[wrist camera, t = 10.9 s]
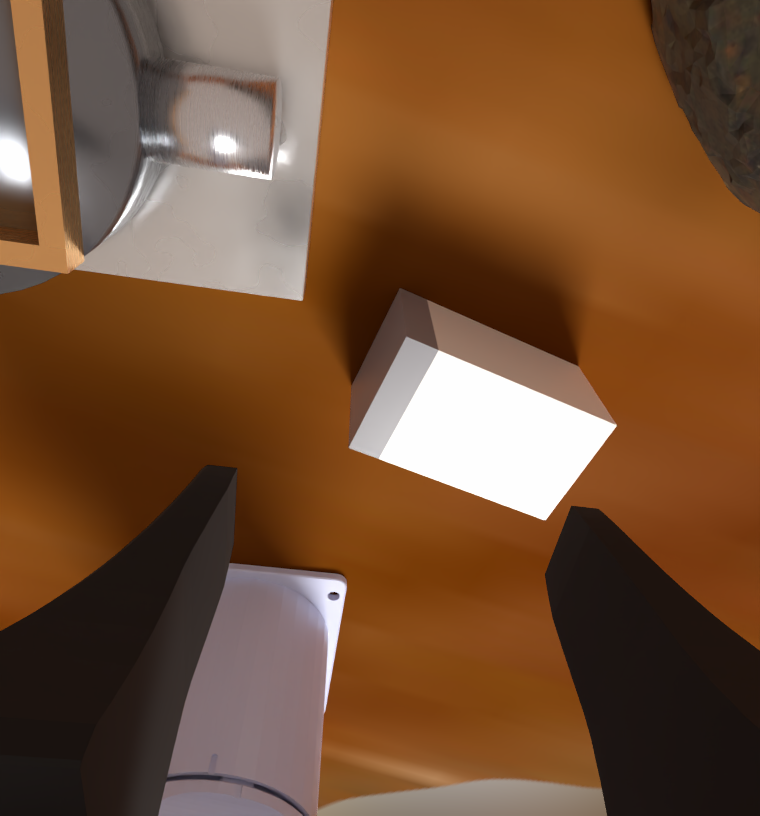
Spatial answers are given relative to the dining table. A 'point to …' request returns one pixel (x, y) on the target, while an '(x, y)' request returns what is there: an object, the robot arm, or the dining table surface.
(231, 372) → the dining table surface
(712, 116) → the hand tool
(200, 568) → the robot arm
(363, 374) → the block
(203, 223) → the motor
